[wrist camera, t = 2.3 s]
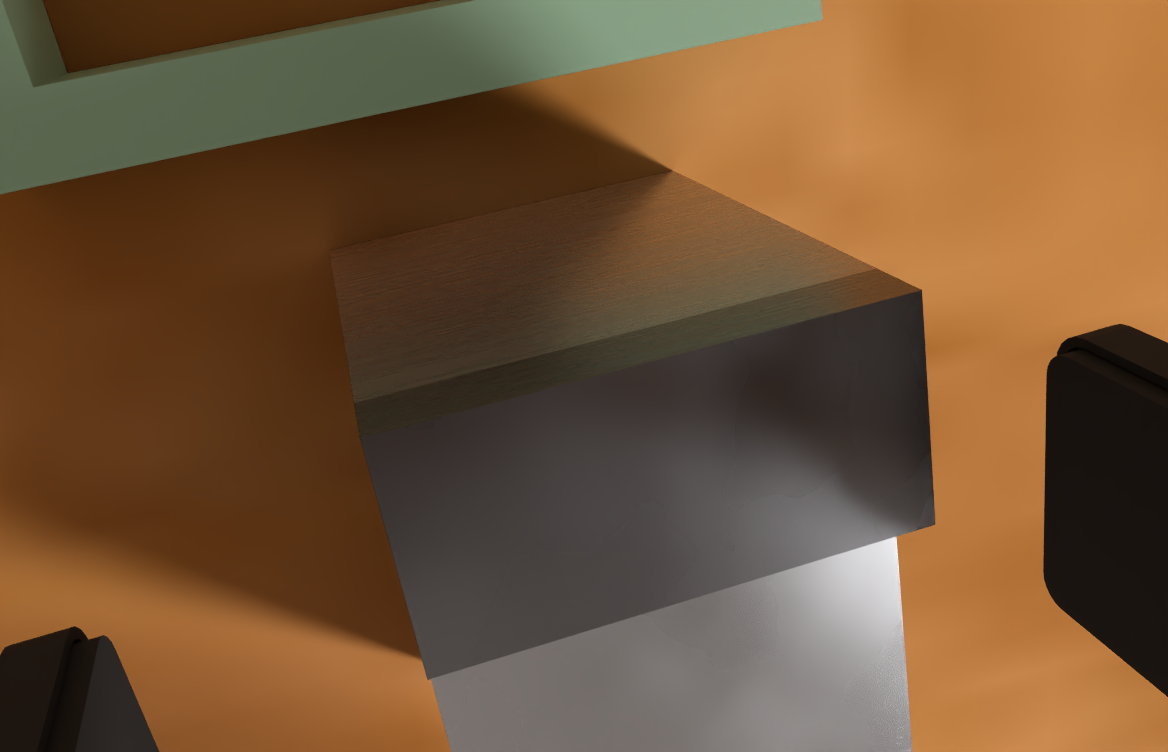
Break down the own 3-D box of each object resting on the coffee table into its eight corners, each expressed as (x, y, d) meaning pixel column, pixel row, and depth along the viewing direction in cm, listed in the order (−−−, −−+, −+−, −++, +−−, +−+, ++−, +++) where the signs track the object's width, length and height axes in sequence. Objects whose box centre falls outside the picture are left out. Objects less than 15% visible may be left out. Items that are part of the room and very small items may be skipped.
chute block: (729, 575, 18) (955, 876, 12) (441, 662, 17) (527, 1034, 11) (671, 169, 16) (921, 289, 10) (328, 249, 15) (360, 438, 9)
